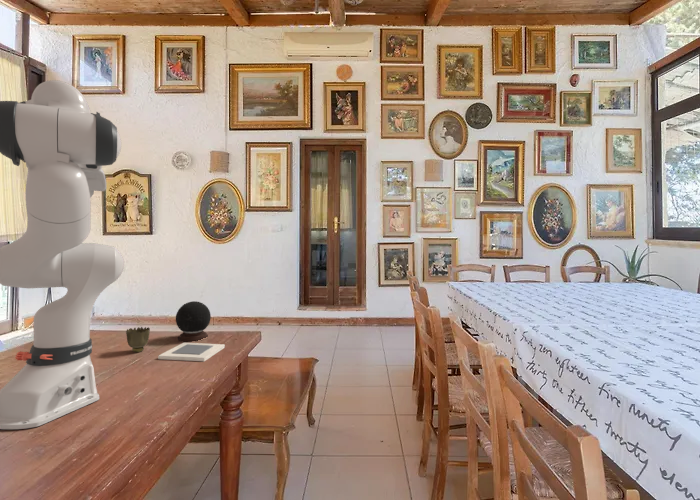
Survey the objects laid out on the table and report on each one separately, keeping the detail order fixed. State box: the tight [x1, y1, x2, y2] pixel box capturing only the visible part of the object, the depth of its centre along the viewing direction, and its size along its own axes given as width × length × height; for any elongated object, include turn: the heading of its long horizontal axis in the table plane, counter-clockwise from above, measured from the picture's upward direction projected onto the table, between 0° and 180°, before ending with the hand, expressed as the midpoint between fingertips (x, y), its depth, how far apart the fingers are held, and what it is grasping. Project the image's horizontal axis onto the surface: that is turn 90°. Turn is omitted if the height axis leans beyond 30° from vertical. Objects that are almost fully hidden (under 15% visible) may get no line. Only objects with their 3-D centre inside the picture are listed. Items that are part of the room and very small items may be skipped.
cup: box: [125, 326, 151, 353], centre depth 132 cm, size 8×7×8 cm
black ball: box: [175, 300, 212, 343], centre depth 151 cm, size 13×13×15 cm
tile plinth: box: [157, 342, 226, 362], centre depth 131 cm, size 16×16×2 cm
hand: (69, 201), depth 121 cm, fingers open, 8 cm apart
